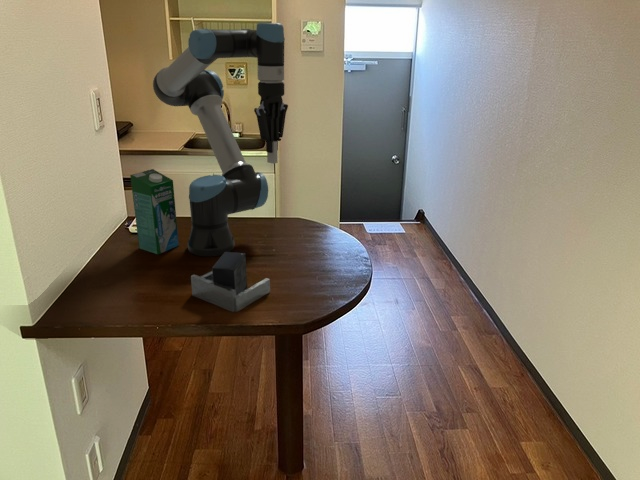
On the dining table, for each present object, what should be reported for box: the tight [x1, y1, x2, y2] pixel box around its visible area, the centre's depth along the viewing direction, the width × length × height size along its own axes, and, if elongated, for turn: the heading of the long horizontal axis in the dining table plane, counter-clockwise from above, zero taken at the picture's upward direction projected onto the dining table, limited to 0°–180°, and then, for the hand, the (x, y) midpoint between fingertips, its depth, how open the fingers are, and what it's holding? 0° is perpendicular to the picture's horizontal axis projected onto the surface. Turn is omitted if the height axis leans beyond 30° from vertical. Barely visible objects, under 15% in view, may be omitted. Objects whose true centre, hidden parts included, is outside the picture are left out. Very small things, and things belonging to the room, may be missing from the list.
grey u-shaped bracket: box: [190, 270, 271, 313], centre depth 145 cm, size 16×14×6 cm
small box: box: [211, 251, 248, 295], centre depth 144 cm, size 11×6×10 cm, turn 171°
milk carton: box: [129, 168, 180, 255], centre depth 170 cm, size 9×9×25 cm
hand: (272, 162), depth 159 cm, fingers closed
